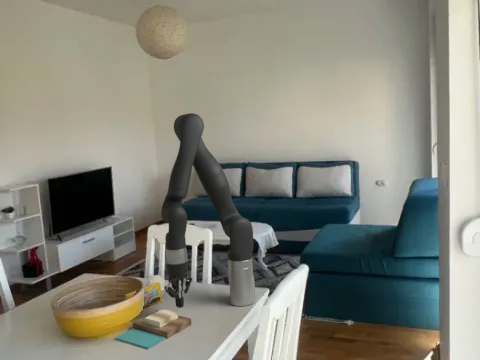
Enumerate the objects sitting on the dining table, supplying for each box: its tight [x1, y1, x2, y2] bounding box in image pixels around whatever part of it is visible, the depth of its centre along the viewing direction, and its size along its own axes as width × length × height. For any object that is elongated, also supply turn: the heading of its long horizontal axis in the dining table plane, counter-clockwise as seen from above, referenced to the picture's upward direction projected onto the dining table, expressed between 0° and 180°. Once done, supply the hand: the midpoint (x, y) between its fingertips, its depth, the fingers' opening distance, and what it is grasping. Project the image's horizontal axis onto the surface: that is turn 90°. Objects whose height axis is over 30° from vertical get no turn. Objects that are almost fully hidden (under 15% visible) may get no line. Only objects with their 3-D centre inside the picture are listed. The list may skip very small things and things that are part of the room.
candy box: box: [124, 282, 162, 311], centre depth 182 cm, size 16×2×8 cm, turn 143°
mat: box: [114, 327, 167, 350], centre depth 157 cm, size 8×15×1 cm, turn 56°
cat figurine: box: [145, 274, 167, 297], centre depth 195 cm, size 9×11×12 cm
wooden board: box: [132, 310, 192, 340], centre depth 165 cm, size 12×16×2 cm
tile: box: [145, 308, 179, 328], centre depth 165 cm, size 9×7×2 cm
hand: (180, 306), depth 173 cm, fingers closed
